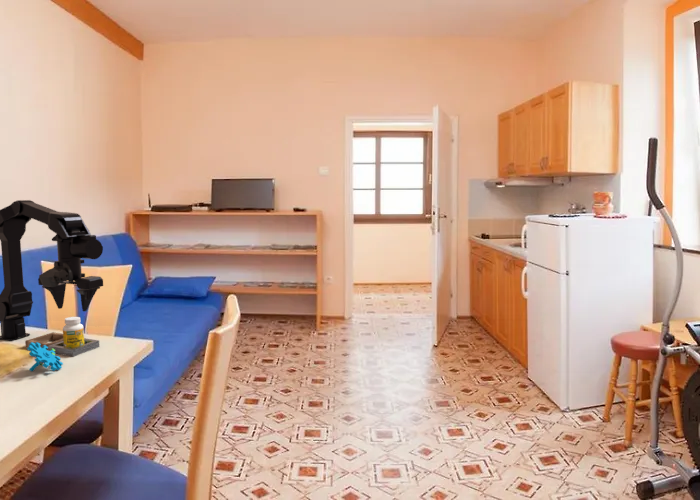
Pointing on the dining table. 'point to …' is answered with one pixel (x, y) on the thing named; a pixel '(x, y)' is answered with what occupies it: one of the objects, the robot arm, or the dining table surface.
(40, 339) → the brown square frame
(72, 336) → the supplement bottle
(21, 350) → the dining table surface
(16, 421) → the dining table surface
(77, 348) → the socket
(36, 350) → the gear
